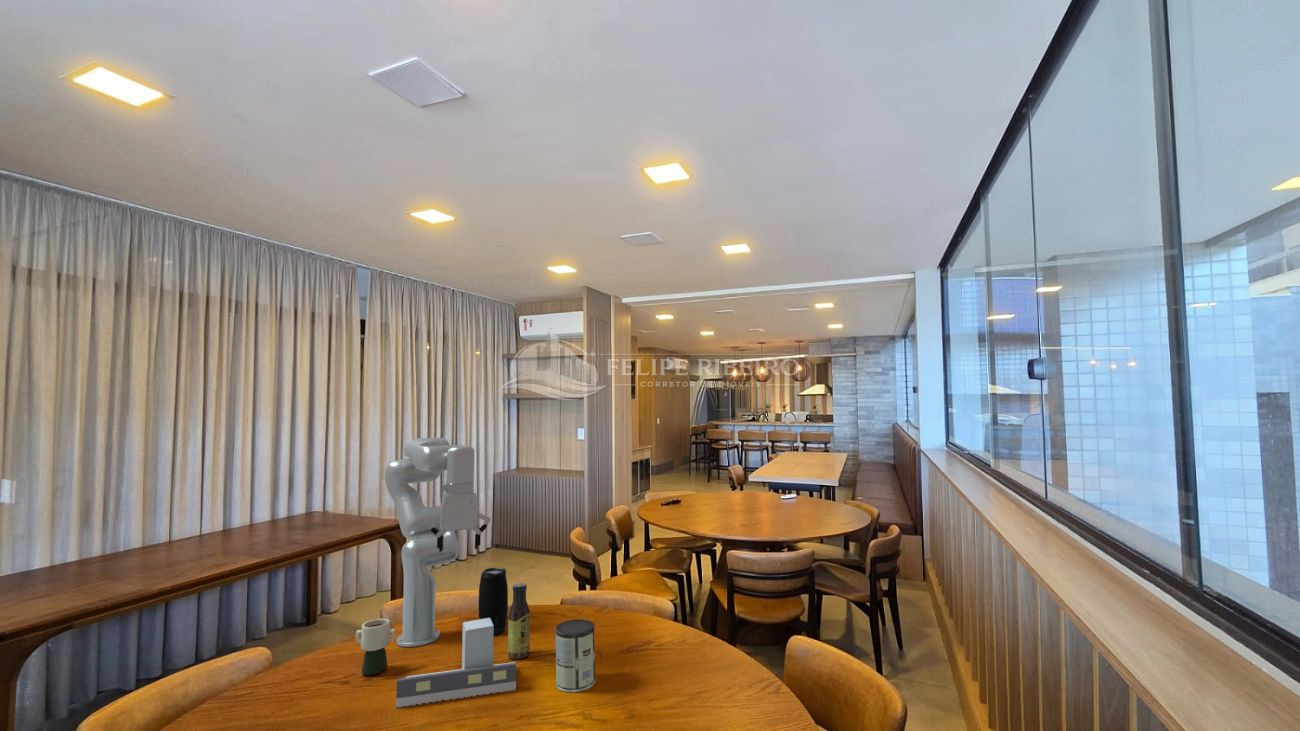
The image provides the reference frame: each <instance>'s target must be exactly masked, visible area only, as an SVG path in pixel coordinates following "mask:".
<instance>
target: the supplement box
mask: <svg viewBox="0 0 1300 731" xmlns="http://www.w3.org/2000/svg"><path fill="white" fill-rule="evenodd" d="M494 637H495V636H494V626H493V623H492V621H491V619H490V618H485V619H479V618H478V619H473V620H470V621H463V622H462V636H461V638H462V640H461V642H462V644H461V645H462V646H461V648H462V650H461V654H462V655H461V669H462V670H466V669H473V668H480V667H488V666H493V665H494Z"/></svg>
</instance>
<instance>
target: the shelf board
mask: <svg viewBox="0 0 1300 731" xmlns="http://www.w3.org/2000/svg"><path fill="white" fill-rule="evenodd" d="M510 663H516V664H517V662H516V661H512V662H505V663H497V664H493V666H495V665H502V664H510ZM458 670H462V668H460V669H453V670H452V669H451V670H446V671H445V670H444V671H440V672H430V673H424V674H418V675H417V674H416V675H408V676H405V678H407V677H414V676H421V675H429V674H436V673H443V672H451V671H458ZM516 690H517V680H516V681H514V682H507V683H500V684H493V685H487V686H480V687H473V688H466V689H459V690H452V691H445V692H438V693H431V694H424V695H417V696H410V697H403V698H395V708H396V709H397V707H398V708H403V706H405V707H409V706H410V705H411V706H417V705H416V704H418V705H423V704H422V703H425V704H430V703H429V702H432V703H437V702H436V701H438V702H442V701H441V700H445V701H450V700H449V699H452V700H456V699H457V698H459V699H464V697H465V698H470V697H471V696H472V697H477V696H476V695H479V696H485V695H491V694H490V693H492V694H497V692H499V693H504V692H505V691H506V692H511V691H516ZM484 694H485V695H484Z"/></svg>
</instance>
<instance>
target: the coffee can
mask: <svg viewBox="0 0 1300 731" xmlns="http://www.w3.org/2000/svg"><path fill="white" fill-rule="evenodd" d="M595 628H596V627H595V623H594V622H593V621H591V620H588V619H583V618H582V619H579V618H578V619H570V620H565V621H563V622H560V623H558V624H557V625H556V626H555V628H554V632H555V673H556V674H555V675H556V676H555V679H556V681H555V687H556V688H557V690H559V691H561V692H565V693H580V692H583V691H587V690H589V689H590V688H592V687H593V686H594V685H595V683H596V668H595V667H596V663H595V662H596V659H595V657H596V656H595Z"/></svg>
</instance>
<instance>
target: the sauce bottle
mask: <svg viewBox="0 0 1300 731" xmlns="http://www.w3.org/2000/svg"><path fill="white" fill-rule="evenodd" d="M512 591H513V593H512V596H513V598H512V603H511V605H510V607H509V608H508V609H509V610H508V618H507V620H508V624H507V625H508V626H507V634H508V635H507V652H508V653H507V654H508V655H507V656H508V658H509V659H510V660H521V659H524V658H526V657H528V656H529V653H530V646H531V645H530V644H531V643H530V642H531V641H530V639H531V638H530V637H531V636H530V635H531V610H530V608H529V604H528V602H527V584H526V583H522V582H521V583H520V582H519V583H515V584H513V585H512Z"/></svg>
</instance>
